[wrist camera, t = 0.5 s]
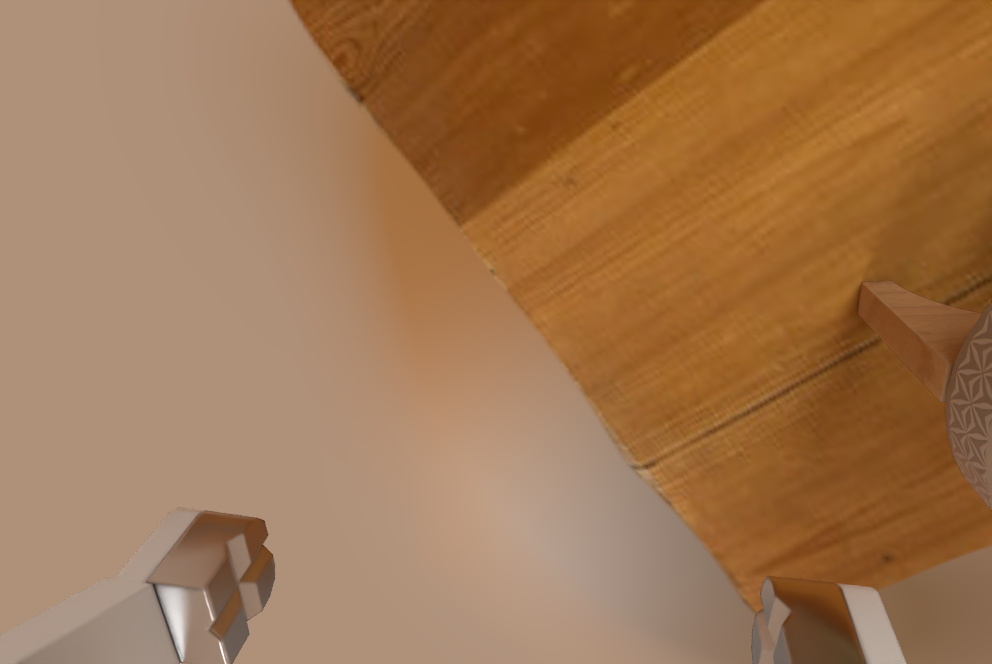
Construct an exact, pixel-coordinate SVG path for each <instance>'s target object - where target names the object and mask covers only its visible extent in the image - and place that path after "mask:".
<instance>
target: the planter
mask: <svg viewBox="0 0 992 664" xmlns="http://www.w3.org/2000/svg"><path fill="white" fill-rule="evenodd" d="M858 315H859V316H860V317H861V318H862V319H863V320H864V321H865V322H866V323H867V324H868V325H869V326H870V327H871V329H872V330H873V331H874V332H875V333H876V334H877V335H878V336H879V337H880V338H881V339H882V340H883V341H884V342H885V343H886V345H887V346H888V347H889V348H890V349H891V350H892V351H893V352H894V353H895V354H896V355H897V356H898V357H899V358H900V359H901V361H902V362H903V363H904V364H905V365H906V366H907V367H908V368H909V369H910V370H911V371H912V372H913V373H914V374H915V375H916V377H917V378H918V379H919V380H920V381H921V382H922V383H923V384H924V385H925V386H926V387H927V388H928V389H929V390H930V391H931V393H932V394H933V395H934V396H935V397H936V398H937V399H938V400H939V401H940V402H946V407H945V418H946V431H947V437H948V441H949V444H950V448H951V451H952V454H953V458H954V460H955V461H956V463H957V465H958V467H959V469H960V471H961V473H962V475H963V477H964V478H965V479H966V480H967V482H968V483H969V484H970V485H971V486H972V488H973V489H974V490H975V491H976V493H977V494H978V495H979V496H980V497H981V499H982V500H983V501H984V502H985V503H986V505H987V506H988V507H989V508H990V509H991V511H992V302H991V303H990V304H989V305H988V306H987V307H986V308H985V310H984V311H983V313H977V312H972V311H968V310H964V309H959V308H955V307H951V306H948V305H944V304H941V303H937V302H934V301H932V300H929V299H926V298H923V297H920V296H918V295H916V294H913V293H911V292H909V291H907V290H905V289H903V288H901V287H899V286H898V285H897V284H895V283H894V282H893V281H878V282H862V284H861V291H860V299H859V306H858Z"/></svg>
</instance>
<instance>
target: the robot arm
mask: <svg viewBox="0 0 992 664" xmlns="http://www.w3.org/2000/svg"><path fill="white" fill-rule="evenodd" d="M267 536H268V532H267V529H266V525H265V521H264V520H262V519H259V518H254V517H247V516H241V515H233V514H227V513H219V512H212V511H201V510H195V509H188V508H181V507H179V508H176V509H175V510H173V511H171V512H169V513H168V515H167V516H166V517H165V518H164V519H163V520H162V522H161V523H160V524H159V525H158V526H157V528H156V529H155V530H154V531H153V532H152V534H151V535H150V536H149V537H148V539H147V540H146V541H145V542H144V543H143V545H142V546H141V547H140V548H139V549H138V551H137V552H136V553H135V554H134V555H133V557H132V558H131V559H130V560H129V561H128V563H127V564H126V565H125V566H124V567H123V569H122V570H121V571H120V572H119V573H118V575H117V576H116V577H115V578H114V579H112V578H105V579H103V580H101V581H99V582H97V583H95V584H93V585H92V586H90V587H88V588H86V589H84V590H82V591H80V592H78V593H77V594H75V595H73V596H71V597H69V598H67V599H65V600H63V601H62V602H60V603H58V604H56V605H54V606H52V607H51V608H49V609H47V610H45V611H43V612H41V613H39V614H38V615H36V616H34V617H32V618H30V619H28V620H26V621H24V622H22V623H21V624H19V625H17V626H15V627H13V628H11V629H10V630H8V631H6V632H4V633H2V634H0V664H180V663H184V664H233V662H234V660H235V658H236V657H237V655H238V653H239V651H240V650H241V648H242V646H243V644H244V642H245V641H246V639H247V637H248V635H249V629H248V624H247V621H248V620H250V619H251V618H252V617H254V616H256V615H257V614H259V613H260V612H262V610H263V608H264V607H265V605H266V603H267V601H268V599H269V597H270V594H271V590H272V587H273V583H274V580H275V563H274V558H273V554H272V553H271V552H270V551H269V550H268V549H267V548H266V547H265V546H264V545H263V543H264V541H265V540H266V538H267ZM760 595H761V600H762V605H763V609H762V610H761V611H759V612H758V613H756V614H755V619H754V624H753V629H752V647H751V648H752V661H753V664H907V663H906V661H905V658H904V656H903V653H902V651H901V648H900V646H899V643H898V641H897V639H896V636H895V633H894V631H893V628H892V626H891V623H890V621H889V618H888V616H887V613H886V611H885V608H884V606H883V603H882V601H881V598H880V596H879V593H878V592H877V591H876V590H875V589H874V588H873V587H867V586H857V585H848V584H839V583H837V584H834V583H830V582H820V581H811V580H801V579H792V578H782V577H773V576H767V577H766V578H765V580H764V581H763V585H762V589H761V593H760Z"/></svg>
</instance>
